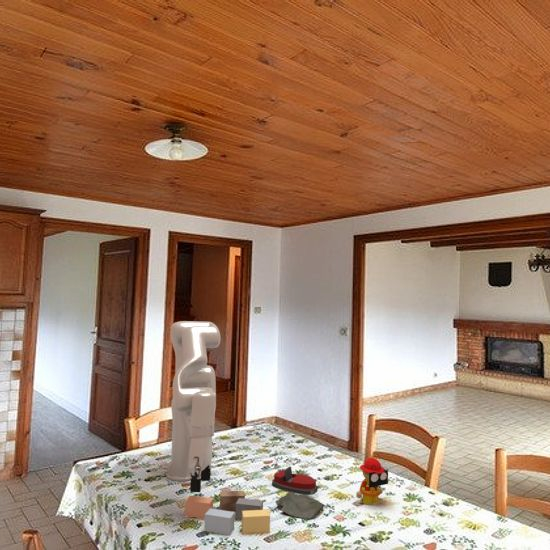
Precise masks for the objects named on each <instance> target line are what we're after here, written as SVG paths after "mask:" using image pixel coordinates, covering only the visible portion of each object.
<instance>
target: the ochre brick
mask: <svg viewBox="0 0 550 550" xmlns="http://www.w3.org/2000/svg"><path fill="white" fill-rule="evenodd" d="M241 527H242V528H241ZM241 527H240V528H241V530H242V531H241V532H242V535H250V534H267V533H269V534H270V533H271V531H270V527H271V515H270V511H269V509H263V510H249V511H242V520H241Z"/></svg>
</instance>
